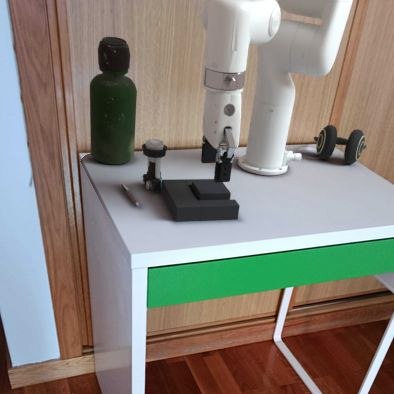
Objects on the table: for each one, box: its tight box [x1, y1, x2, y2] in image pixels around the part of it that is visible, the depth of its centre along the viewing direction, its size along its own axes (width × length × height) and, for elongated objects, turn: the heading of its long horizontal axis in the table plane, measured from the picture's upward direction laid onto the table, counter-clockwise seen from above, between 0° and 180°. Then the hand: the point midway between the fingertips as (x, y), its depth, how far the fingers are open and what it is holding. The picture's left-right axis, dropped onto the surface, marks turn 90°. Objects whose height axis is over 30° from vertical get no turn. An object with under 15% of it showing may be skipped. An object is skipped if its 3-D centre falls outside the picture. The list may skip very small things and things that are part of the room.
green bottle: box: [89, 36, 138, 165], centre depth 113 cm, size 10×10×25 cm
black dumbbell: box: [313, 124, 367, 165], centre depth 138 cm, size 9×15×20 cm
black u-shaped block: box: [160, 178, 241, 223], centre depth 104 cm, size 13×14×3 cm
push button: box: [141, 138, 168, 194], centre depth 107 cm, size 7×5×10 cm
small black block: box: [192, 181, 232, 200], centre depth 105 cm, size 6×6×4 cm
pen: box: [120, 182, 140, 207], centre depth 105 cm, size 11×1×1 cm, turn 25°
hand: (214, 171), depth 102 cm, fingers open, 9 cm apart
